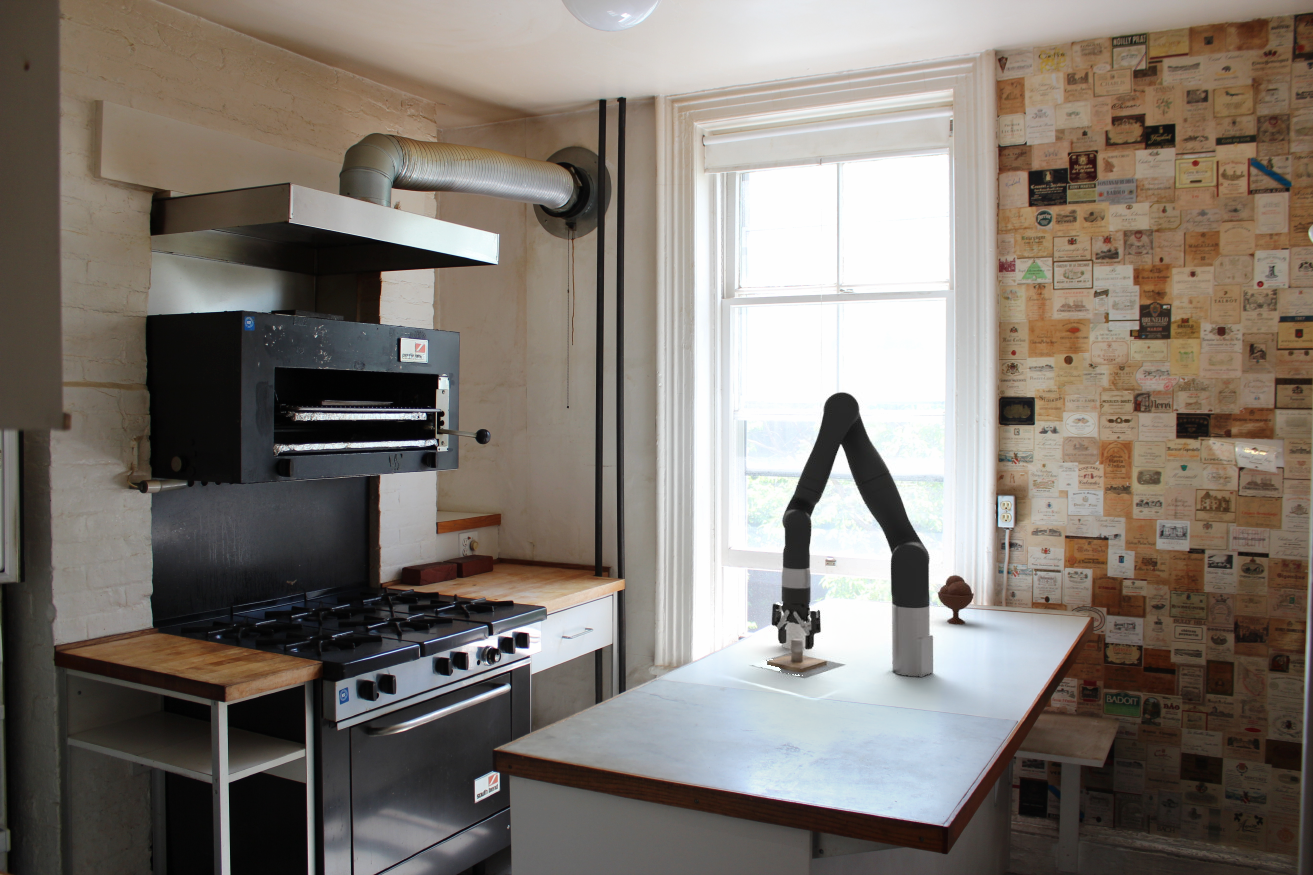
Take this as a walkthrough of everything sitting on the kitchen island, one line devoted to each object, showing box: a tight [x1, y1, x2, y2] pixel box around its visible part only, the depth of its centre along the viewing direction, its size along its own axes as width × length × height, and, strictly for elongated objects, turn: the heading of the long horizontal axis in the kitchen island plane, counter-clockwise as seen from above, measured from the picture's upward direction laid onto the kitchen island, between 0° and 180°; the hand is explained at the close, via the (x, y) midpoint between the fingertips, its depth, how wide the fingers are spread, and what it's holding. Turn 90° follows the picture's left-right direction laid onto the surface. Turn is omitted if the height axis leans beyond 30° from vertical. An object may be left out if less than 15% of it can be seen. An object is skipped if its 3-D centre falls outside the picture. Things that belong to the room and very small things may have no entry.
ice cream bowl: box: [937, 574, 975, 625], centre depth 284 cm, size 11×11×15 cm
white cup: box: [781, 611, 806, 650], centre depth 252 cm, size 8×8×10 cm
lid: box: [767, 639, 828, 673], centre depth 232 cm, size 11×11×6 cm
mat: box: [765, 652, 846, 679], centre depth 232 cm, size 18×18×1 cm
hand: (795, 645), depth 232 cm, fingers open, 8 cm apart
